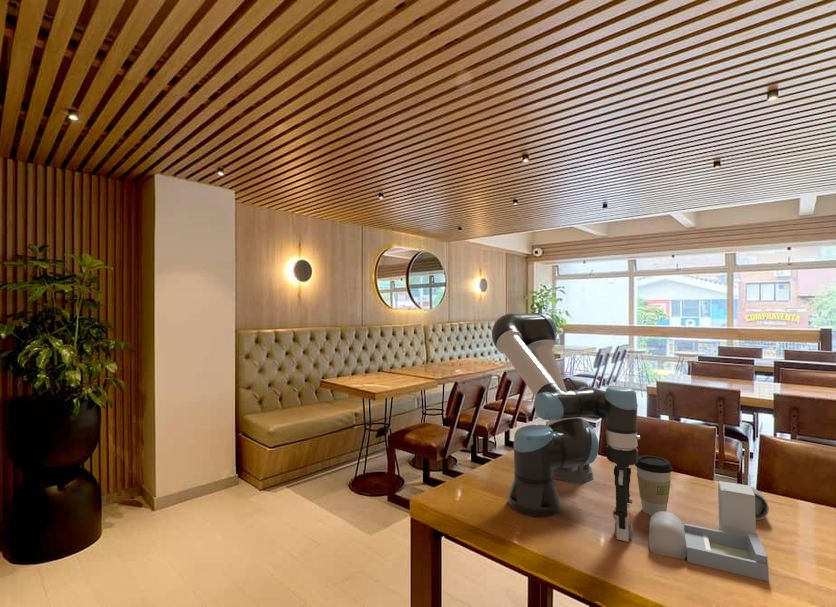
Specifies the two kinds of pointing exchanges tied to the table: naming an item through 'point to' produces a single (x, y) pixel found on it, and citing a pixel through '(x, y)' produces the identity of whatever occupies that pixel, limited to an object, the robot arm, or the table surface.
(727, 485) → the supplement box
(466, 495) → the table surface
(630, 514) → the ball
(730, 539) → the grey molded pieces
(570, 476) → the lantern
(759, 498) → the ceramic mug
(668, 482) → the coffee cup
